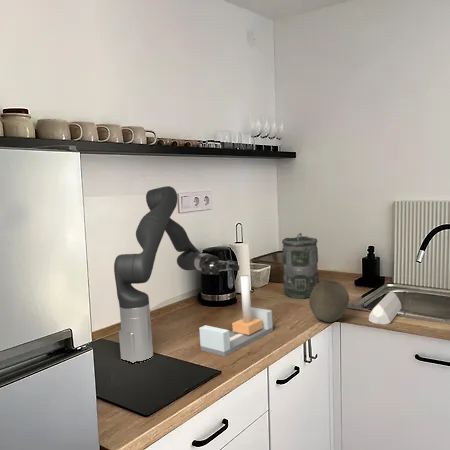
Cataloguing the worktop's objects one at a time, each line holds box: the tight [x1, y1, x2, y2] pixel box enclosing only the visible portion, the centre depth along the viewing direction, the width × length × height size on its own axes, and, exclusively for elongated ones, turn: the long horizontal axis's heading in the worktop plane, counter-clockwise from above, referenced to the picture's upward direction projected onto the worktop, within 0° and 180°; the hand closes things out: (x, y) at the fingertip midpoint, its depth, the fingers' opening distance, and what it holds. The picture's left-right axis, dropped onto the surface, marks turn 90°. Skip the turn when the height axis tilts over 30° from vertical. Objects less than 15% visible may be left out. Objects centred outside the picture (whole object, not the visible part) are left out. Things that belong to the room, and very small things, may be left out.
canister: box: [281, 232, 320, 300], centre depth 210 cm, size 16×16×28 cm
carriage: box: [231, 274, 263, 335], centre depth 160 cm, size 8×7×19 cm
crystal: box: [368, 290, 402, 325], centre depth 175 cm, size 7×7×24 cm
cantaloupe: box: [309, 280, 350, 323], centre depth 171 cm, size 14×14×15 cm
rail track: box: [199, 306, 274, 358], centre depth 157 cm, size 27×10×8 cm, turn 141°
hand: (228, 269), depth 168 cm, fingers open, 8 cm apart
